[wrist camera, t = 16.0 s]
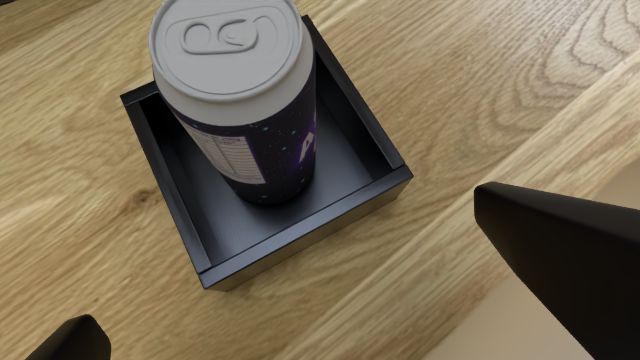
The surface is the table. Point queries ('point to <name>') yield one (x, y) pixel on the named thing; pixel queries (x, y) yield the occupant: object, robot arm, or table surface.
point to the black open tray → (280, 218)
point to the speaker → (5, 1)
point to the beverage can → (241, 89)
